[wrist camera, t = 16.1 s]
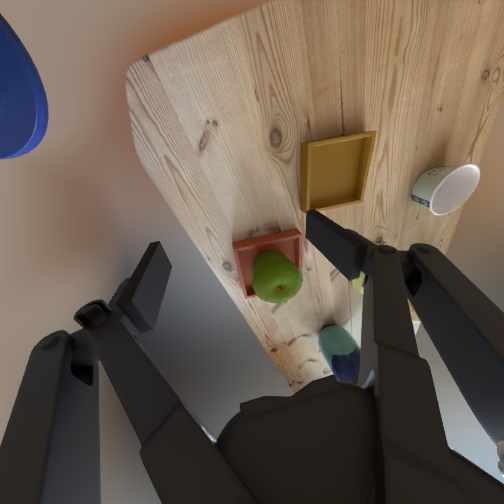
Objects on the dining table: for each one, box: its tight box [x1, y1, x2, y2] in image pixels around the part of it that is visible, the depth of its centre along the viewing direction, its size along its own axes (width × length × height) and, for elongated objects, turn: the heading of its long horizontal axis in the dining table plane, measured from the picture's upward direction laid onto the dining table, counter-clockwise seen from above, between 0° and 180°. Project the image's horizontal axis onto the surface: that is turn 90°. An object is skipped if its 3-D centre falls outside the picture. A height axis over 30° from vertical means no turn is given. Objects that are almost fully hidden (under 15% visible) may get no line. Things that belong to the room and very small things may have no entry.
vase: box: [318, 325, 361, 385], centre depth 64 cm, size 14×14×31 cm
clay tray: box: [232, 229, 302, 299], centre depth 50 cm, size 18×18×3 cm
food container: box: [411, 163, 480, 215], centre depth 45 cm, size 12×12×6 cm
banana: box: [352, 241, 386, 294], centre depth 59 cm, size 14×6×20 cm
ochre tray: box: [301, 131, 376, 213], centre depth 40 cm, size 14×14×3 cm
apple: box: [252, 251, 303, 303], centre depth 46 cm, size 12×12×11 cm
